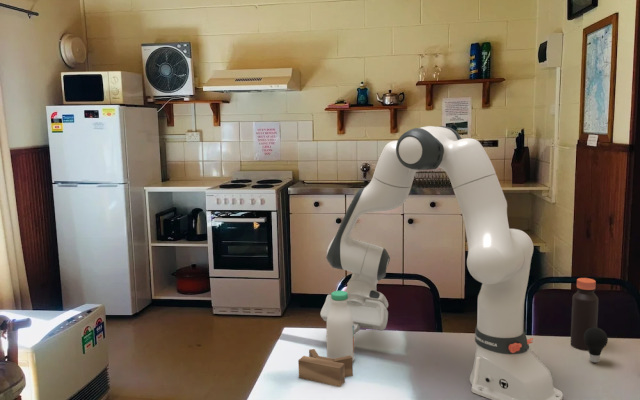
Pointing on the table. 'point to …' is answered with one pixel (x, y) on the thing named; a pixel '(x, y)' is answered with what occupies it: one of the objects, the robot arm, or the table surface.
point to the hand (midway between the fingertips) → (346, 338)
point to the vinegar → (583, 311)
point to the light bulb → (595, 342)
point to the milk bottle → (340, 327)
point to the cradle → (325, 368)
